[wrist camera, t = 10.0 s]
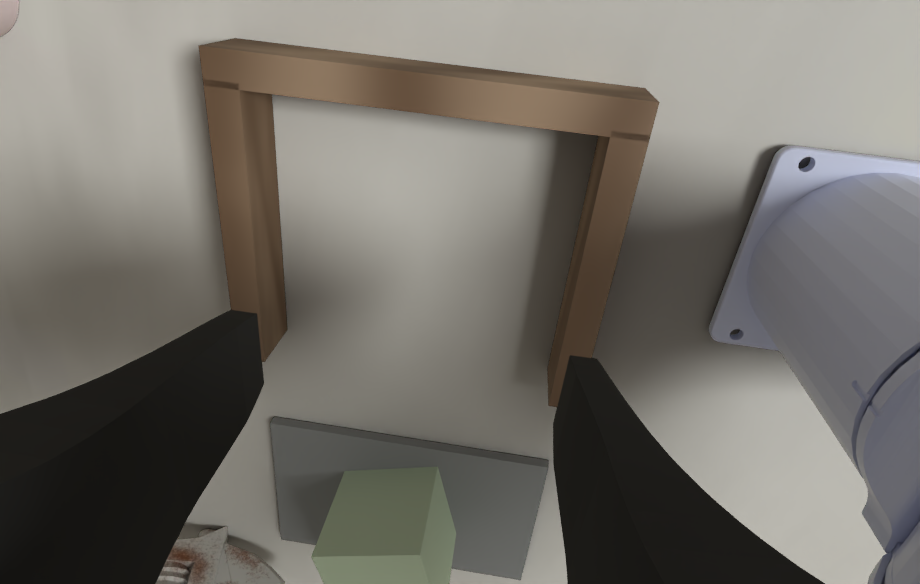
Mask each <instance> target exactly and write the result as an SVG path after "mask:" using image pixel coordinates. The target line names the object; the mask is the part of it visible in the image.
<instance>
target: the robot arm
mask: <svg viewBox="0 0 920 584" xmlns="http://www.w3.org/2000/svg"><path fill="white" fill-rule="evenodd" d="M805 157H810V163H809V164H808V166H806V167H805V168H801V169H799V168H798V166H799V162H800V161H801V160H802V159H803V158H805ZM735 329H740V331H739V333H737V334H734V335H731V334H730V333H731V331H733V330H735ZM709 333H710V335H711V337H712V338H713V339H714V340H715V341H717V342H721V343H728V344H735V345H742V346H749V347H756V348H763V349H770V350H777V351H780V353H781V354H782V356H783V357H784V359H785V360H786V362H787V363H788V365H789V366H790V368H791V369H792V371H793V372H794V374H795V375H796V377H797V379H798V380H799V382H800V383H801V385H802V386H803V388H804V389H805V391H806V392H807V394H808V395H809V397H810V398H811V400H812V401H813V403H814V404H815V406H816V408H817V409H818V411H819V412H820V414H821V415H822V417H823V418H824V420H825V421H826V423H827V424H828V426H829V427H830V429H831V430H832V432H833V434H834V435H835V437H836V438H837V440H838V441H839V443H840V444H841V446H842V447H843V449H844V450H845V452H846V453H847V455H848V456H849V458H850V459H851V461H852V463H853V464H854V466H855V467H856V469H857V470H858V472H859V473H860V475H861V476H862V477H863V478H864V481H865V483H866V486H867V488H868V499H867V503H866V505H865V507H864V509H863V511H862V515H863V516H864V518H865V519H866V521H867V523H868V524H869V526H870V528H871V529H872V531H873V533H874V534H875V536H876V537H877V539H878V541H879V542H880V544H881V546H882V547H883V549H884V551H885V552H886V553H887V554H886V555H884V556H883V557H882V558H881V559H880V561H879V562H878V563H877V565H876V566H875V568H874V569H873V571H872V573H871V574H870V576H869V579H868V584H920V161H915V160H907V159H899V158H891V157H883V156H875V155H867V154H859V153H851V152H843V151H835V150H827V149H819V148H811V147H803V146H795V145H790V146H785V147H783V148H781V149H780V150H779V151H777V152H776V154H775V156H774V157H773V159H772V162H771V165H770V167H769V170H768V173H767V175H766V178H765V181H764V183H763V186H762V188H761V191H760V194H759V196H758V199H757V202H756V204H755V207H754V209H753V212H752V215H751V217H750V220H749V223H748V225H747V228H746V231H745V233H744V236H743V238H742V241H741V244H740V246H739V249H738V252H737V254H736V257H735V259H734V262H733V265H732V267H731V270H730V273H729V275H728V278H727V281H726V283H725V286H724V288H723V291H722V294H721V296H720V299H719V302H718V304H717V307H716V309H715V312H714V315H713V317H712V320H711V323H710V325H709ZM263 384H264V379H263V369H262V359H261V348H260V338H259V327H258V317H257V313H250V312H243V311H235V310H230V311H228V312H226V313H224V314H222V315H220V316H218V317H216V318H214V319H212V320H210V321H208V322H206V323H205V324H203V325H201V326H199V327H197V328H195V329H194V330H192V331H190V332H188V333H186V334H184V335H183V336H181V337H179V338H177V339H175V340H173V341H171V342H170V343H168V344H166V345H164V346H162V347H160V348H159V349H157V350H155V351H153V352H151V353H149V354H147V355H145V356H143V357H141V358H139V359H137V360H135V361H133V362H130V363H128V364H126V365H124V366H122V367H120V368H118V369H116V370H114V371H112V372H110V373H108V374H106V375H103V376H101V377H99V378H97V379H94V380H92V381H90V382H87V383H85V384H83V385H80V386H78V387H75V388H73V389H70V390H68V391H65V392H63V393H60V394H57V395H55V396H52V397H49V398H47V399H44V400H41V401H38V402H35V403H32V404H29V405H26V406H23V407H20V408H17V409H14V410H11V411H8V412H5V413H2V414H0V584H156V582H157V580H158V577H159V575H160V573H161V571H162V569H163V567H164V564H165V562H166V560H167V558H168V556H169V554H170V552H171V550H172V548H173V546H174V544H175V542H176V540H177V538H178V536H179V534H180V532H181V530H182V528H183V526H184V524H185V522H186V520H187V518H188V516H189V514H190V513H191V511H192V509H193V507H194V506H195V504H196V502H197V500H198V499H199V497H200V496H201V494H202V493H203V491H204V489H205V488H206V486H207V485H208V483H209V481H210V480H211V478H212V477H213V475H214V474H215V472H216V470H217V469H218V467H219V466H220V464H221V462H222V461H223V459H224V458H225V456H226V455H227V453H228V451H229V450H230V448H231V447H232V445H233V443H234V442H235V440H236V438H237V437H238V435H239V434H240V432H241V430H242V429H243V427H244V425H245V424H246V422H247V420H248V418H249V416H250V414H251V412H252V410H253V408H254V405H255V403H256V401H257V399H258V396H259V394H260V391H261V389H262V387H263ZM553 458H554V471H555V479H556V487H557V495H558V502H559V509H560V517H561V524H562V532H563V539H564V547H565V554H566V565H567V579H568V584H825V583H823V582H822V581H820V580H818V579H817V578H815V577H814V576H812V575H811V574H809V573H808V572H806V571H805V570H803V569H802V568H800V567H799V566H797V565H796V564H794V563H793V562H792V561H790V560H789V559H787V558H786V557H785V556H783V555H782V554H781V553H779V552H778V551H777V550H775V549H774V548H773V547H771V546H770V545H768V544H767V543H766V542H764V541H763V540H762V539H760V538H759V537H758V536H757V535H755V534H754V533H753V532H752V531H750V530H749V529H748V528H747V527H745V526H744V525H743V524H742V523H740V522H739V521H738V520H737V519H736V518H734V517H733V516H732V515H731V514H730V513H729V512H728V511H726V510H725V509H724V508H723V507H722V506H721V505H719V504H718V503H717V502H716V501H715V500H714V499H713V498H711V497H710V496H709V495H708V494H707V493H706V492H705V491H704V490H703V489H702V488H701V487H700V486H699V485H698V484H697V483H696V482H695V481H694V480H693V479H692V478H691V477H690V476H689V475H688V474H687V473H686V472H685V471H684V470H683V469H682V468H681V467H680V466H679V465H678V464H677V463H676V462H675V461H674V460H673V459H672V458H671V457H670V456H669V454H668V453H667V452H666V451H665V450H664V449H663V448H662V446H661V445H660V444H659V443H658V442H657V441H656V439H655V438H654V437H653V436H652V435H651V433H650V432H649V431H648V430H647V428H646V427H645V426H644V425H643V423H642V422H641V421H640V419H639V418H638V417H637V415H636V414H635V413H634V411H633V410H632V409H631V407H630V406H629V405H628V403H627V402H626V400H625V399H624V398H623V396H622V395H621V393H620V392H619V390H618V389H617V387H616V386H615V385H614V383H613V382H612V380H611V379H610V377H609V376H608V374H607V373H606V371H605V370H604V368H603V367H602V365H601V364H600V362H599V361H598V360H597V359H595V358H587V357H580V356H572V355H570V356H569V360H568V364H567V369H566V373H565V377H564V381H563V385H562V389H561V394H560V398H559V402H558V406H557V410H556V414H555V419H554V423H553Z"/></svg>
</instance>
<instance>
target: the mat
mask: <svg viewBox="0 0 920 584" xmlns="http://www.w3.org/2000/svg"><path fill="white" fill-rule="evenodd" d="M270 427H271V438H272V449H273V459H274V470H275V481H276V491H277V502H278V513H279V524H280V534H281V539H282V540H288V541H294V542H300V543H306V544H312V545H316V544H317V541H318V539H319V536H320V533H321V531H322V528H323V526H324V523H325V521H326V518H327V515H328V513H329V510H330V508H331V505H332V502H333V500H334V497H335V495H336V492H337V490H338V487H339V484H340V482H341V479H342V477H343V474H344V472H345V471H356V470H377V469H397V468H418V467H438V469H439V473H440V476H441V480H442V483H443V487H444V491H445V494H446V498H447V501H448V505H449V509H450V512H451V516H452V519H453V523H454V527H455V530H456V539H455V546H454V553H453V560H452V567H451V568H452V569H458V570H464V571H470V572H475V573H481V574H487V575H493V576H499V577H505V578H511V579H516V580H521V577H522V573H523V569H524V565H525V560H526V556H527V552H528V548H529V544H530V540H531V536H532V532H533V528H534V524H535V520H536V516H537V512H538V508H539V504H540V500H541V496H542V492H543V488H544V484H545V480H546V475H547V471H548V460H544V459H538V458H531V457H525V456H519V455H513V454H506V453H500V452H494V451H487V450H481V449H475V448H469V447H462V446H456V445H450V444H443V443H437V442H431V441H424V440H418V439H412V438H406V437H399V436H393V435H387V434H380V433H374V432H368V431H362V430H355V429H349V428H343V427H336V426H330V425H324V424H318V423H311V422H305V421H299V420H292V419H286V418H280V417H274V418H273V419H272V421H271V423H270Z"/></svg>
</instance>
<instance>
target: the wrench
mask: <svg viewBox="0 0 920 584" xmlns="http://www.w3.org/2000/svg"><path fill="white" fill-rule="evenodd" d="M227 535H228V526H226V527H223V528H221V529H218V530H216V531H215V530H212V529H205V530H202V531H201V532H200V533H199V535H198V538H188V539H177V540H176V542H175V544H174V546H173V548H172V550H171V552H170V554H169V556H168V558H167V560H166V562H165V564H164V567H163V569H162V571H161V573H160V575H159V577H158V580H157V582H156V584H285V581H284V580H283V579H282V578H281V577H280V576H279V575H278V574H277V572H276V571H275V570H274V569H273V568H272V567H271V566H269V565H268V564H267V563H266V562H264V561H263V560H262V559H260V558H259V557H258V556H257V555H255V554H253V553H251V552H248V551H245V550H243V549H240V548H237V547H235V546H232V545H230V544H227Z"/></svg>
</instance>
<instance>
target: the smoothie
mask: <svg viewBox="0 0 920 584" xmlns="http://www.w3.org/2000/svg"><path fill="white" fill-rule="evenodd" d="M18 10H19V0H0V36H2V35H4V34H6V33H7V32H8V31H9V30H10V29H11V28H12V27H13V25H14V24H15V21H16V19H17V15H18Z"/></svg>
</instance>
